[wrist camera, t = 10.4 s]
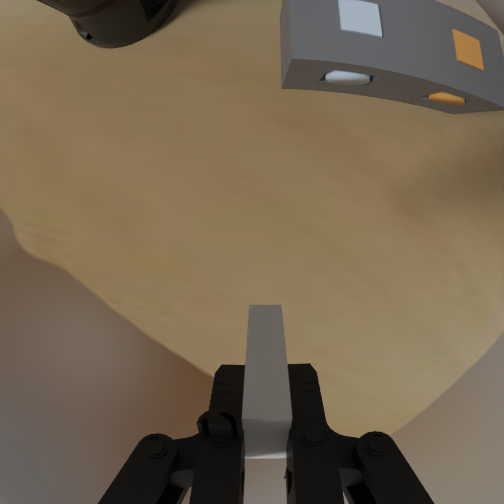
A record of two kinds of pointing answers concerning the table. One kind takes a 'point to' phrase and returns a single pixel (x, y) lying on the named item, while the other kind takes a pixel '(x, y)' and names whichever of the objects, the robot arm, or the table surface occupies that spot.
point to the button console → (393, 51)
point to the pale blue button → (346, 77)
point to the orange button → (446, 98)
